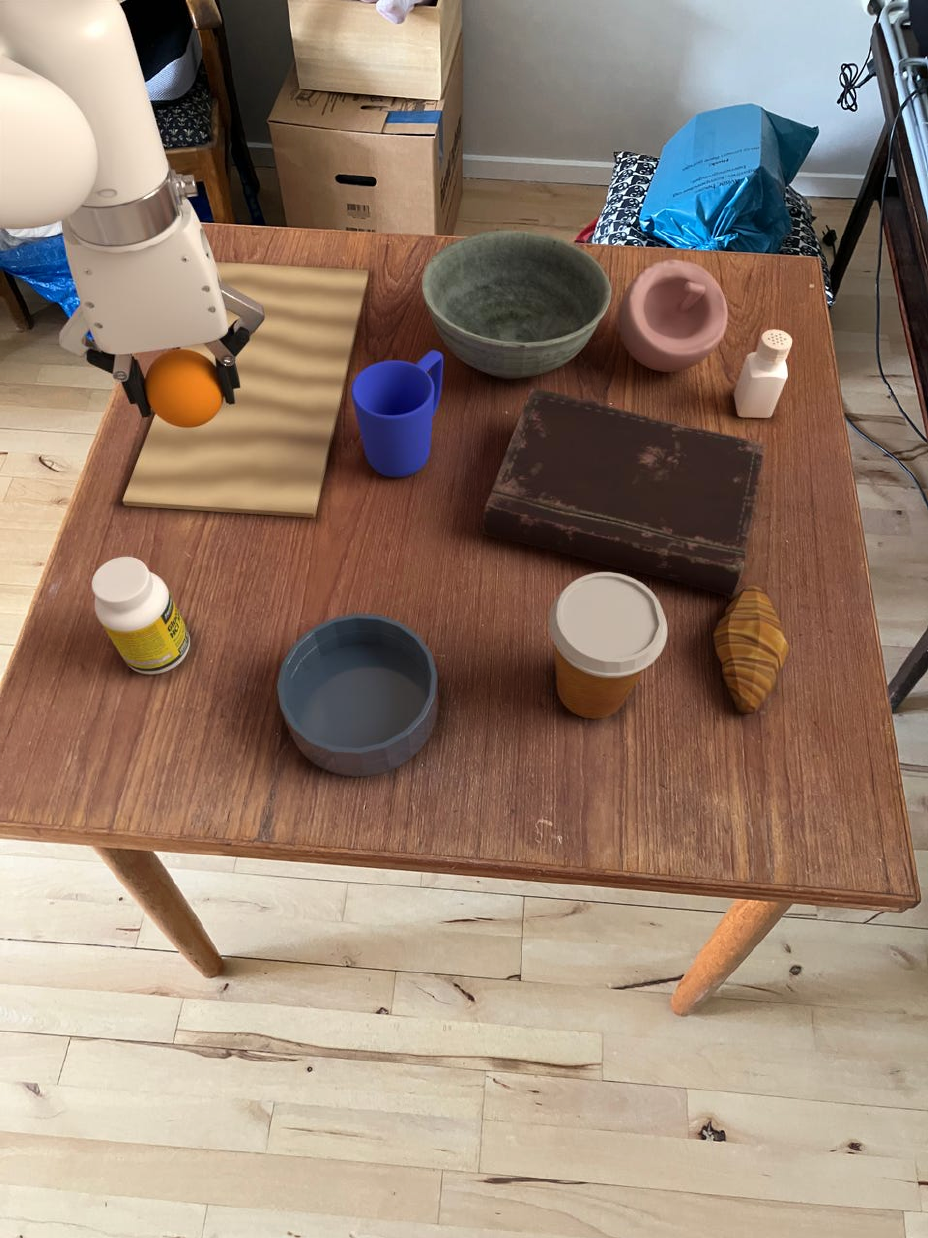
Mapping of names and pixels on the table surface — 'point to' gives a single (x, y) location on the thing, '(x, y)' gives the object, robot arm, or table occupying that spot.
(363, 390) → the mug
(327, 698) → the fruit bowl
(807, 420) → the table surface
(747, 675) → the croissant
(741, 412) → the salt shaker
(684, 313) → the mortar and pestle
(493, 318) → the bowl
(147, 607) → the pill bottle
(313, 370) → the serving board
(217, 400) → the orange
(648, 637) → the disposable coffee cup
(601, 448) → the diary
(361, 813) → the table surface
